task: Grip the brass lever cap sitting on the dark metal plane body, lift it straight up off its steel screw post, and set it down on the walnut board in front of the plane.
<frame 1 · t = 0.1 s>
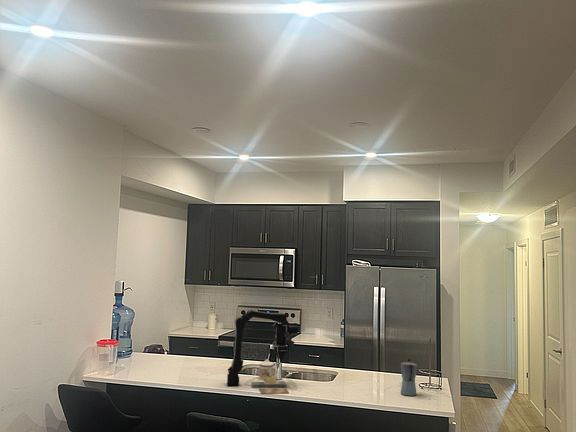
hand: (279, 360, 325), 14 cm above the counter, tool pointing down, fingers open, 9 cm apart
plane body: (268, 386, 318), on the counter
moka pot: (409, 395, 309), on the counter
lever cap: (270, 382, 318), point 2 cm above the counter, touching plane body
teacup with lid: (268, 379, 339), on the counter
walnut board: (273, 391, 306), on the counter
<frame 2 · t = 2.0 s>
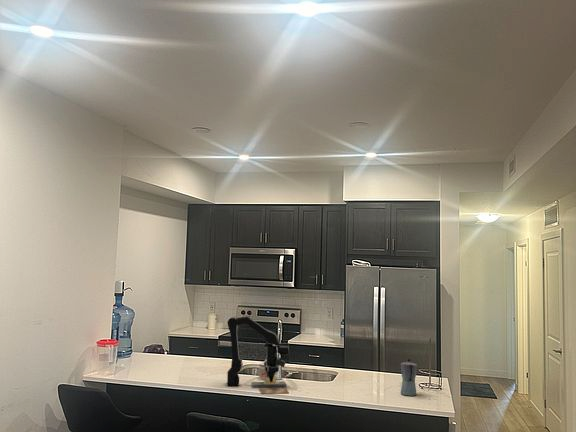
hand: (270, 381, 318), 3 cm above the counter, tool pointing down, fingers closed on lever cap, 5 cm apart
lever cap: (270, 382, 318), point 2 cm above the counter, touching gripper, plane body
everything else where it was.
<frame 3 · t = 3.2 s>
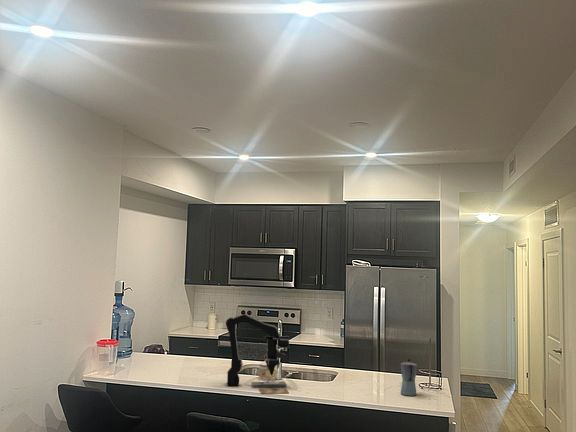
hand: (271, 373, 319), 7 cm above the counter, tool pointing down, fingers closed on lever cap, 5 cm apart
lever cap: (270, 375, 318), point 6 cm above the counter, touching gripper
everything else where it was.
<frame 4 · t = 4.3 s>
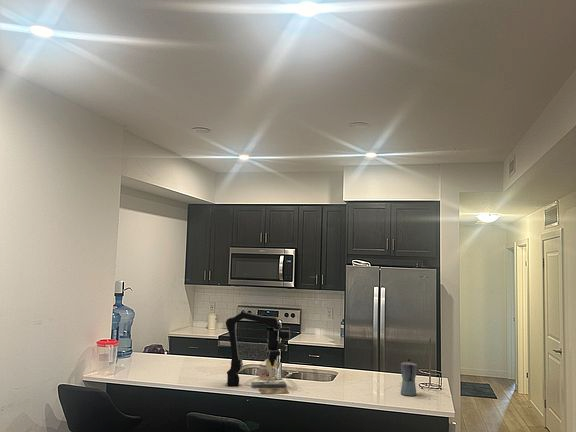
hand: (271, 365, 317), 13 cm above the counter, tool pointing down, fingers closed on lever cap, 5 cm apart
lever cap: (271, 366, 317), point 12 cm above the counter, touching gripper
everything else where it was.
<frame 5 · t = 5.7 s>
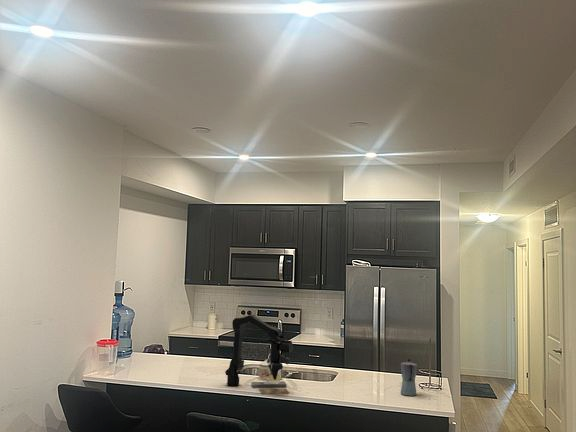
hand: (274, 378, 307), 7 cm above the counter, tool pointing down, fingers closed on lever cap, 5 cm apart
lever cap: (274, 380, 307), point 6 cm above the counter, touching gripper
everything else where it was.
when the fingers open (3 cm above the counter, at t = 6.8 s): lever cap drops 2 cm, resting on walnut board.
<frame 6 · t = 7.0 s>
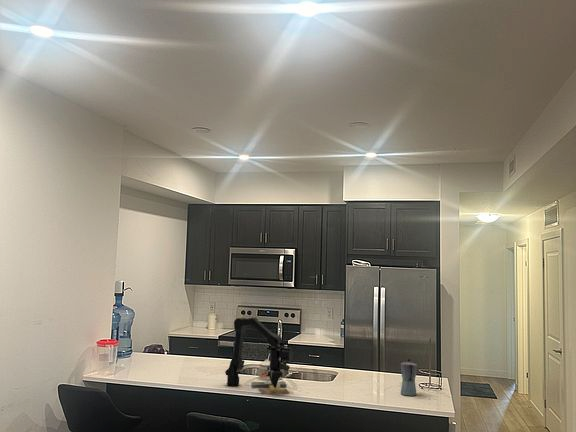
hand: (274, 386, 306), 3 cm above the counter, tool pointing down, fingers open, 7 cm apart
lever cap: (273, 390, 306), resting on walnut board
everything else where it was.
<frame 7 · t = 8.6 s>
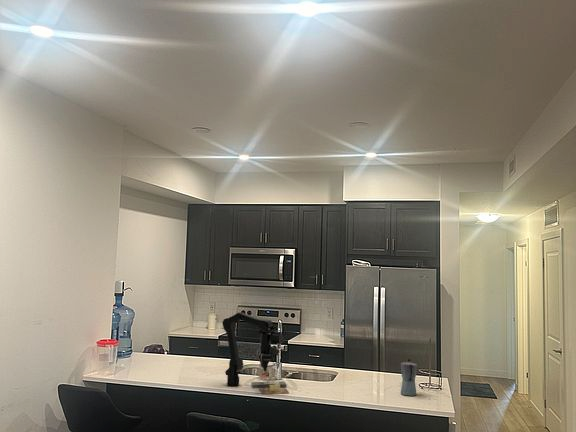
hand: (263, 369, 311), 12 cm above the counter, tool pointing down, fingers open, 9 cm apart
nothing on the counter moved.
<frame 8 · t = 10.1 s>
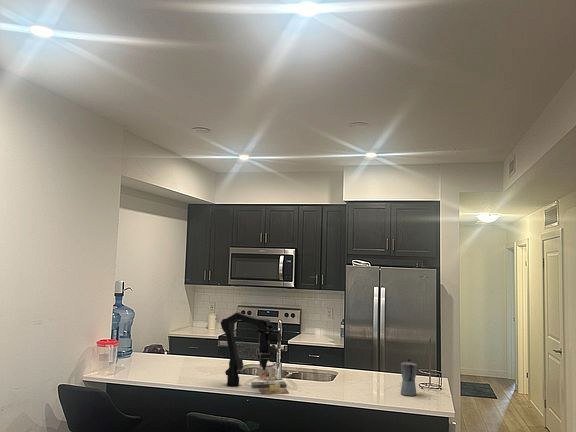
hand: (262, 368, 311), 12 cm above the counter, tool pointing down, fingers open, 9 cm apart
nothing on the counter moved.
at the end: lever cap inside the target area on the walnut board (0.1 cm from its centre), point 0.5 cm above the walnut board's base; lever cap tilted 0°; the gripper is holding nothing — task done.
